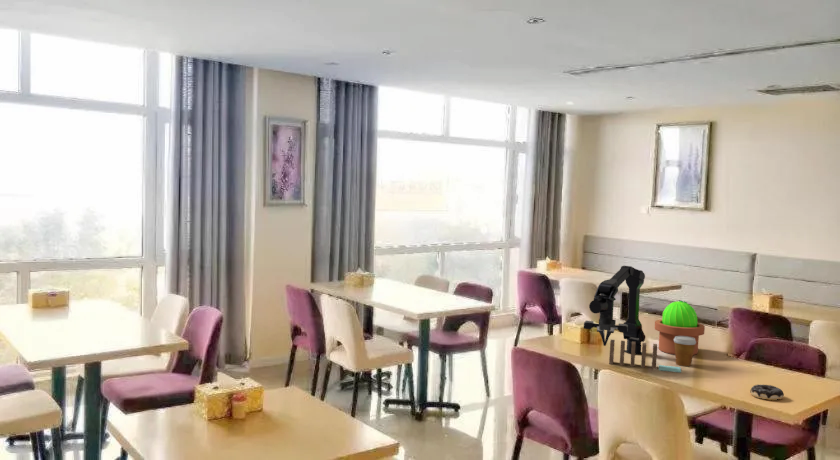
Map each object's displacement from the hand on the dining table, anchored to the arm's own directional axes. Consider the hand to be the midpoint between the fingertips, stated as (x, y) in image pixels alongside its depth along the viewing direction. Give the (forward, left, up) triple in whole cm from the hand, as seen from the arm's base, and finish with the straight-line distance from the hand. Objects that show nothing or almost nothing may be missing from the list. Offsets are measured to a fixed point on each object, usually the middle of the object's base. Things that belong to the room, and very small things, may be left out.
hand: (604, 345), depth 313 cm
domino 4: (+11, +13, -8) cm, 18 cm away
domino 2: (+5, +6, -8) cm, 11 cm away
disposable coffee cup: (+13, +33, -8) cm, 36 cm away
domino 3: (+8, +9, -8) cm, 14 cm away
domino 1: (+2, +2, -8) cm, 8 cm away
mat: (+18, +21, -7) cm, 29 cm away
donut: (+61, +29, -8) cm, 68 cm away
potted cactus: (-8, +49, -8) cm, 50 cm away
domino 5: (+14, +16, -8) cm, 22 cm away
